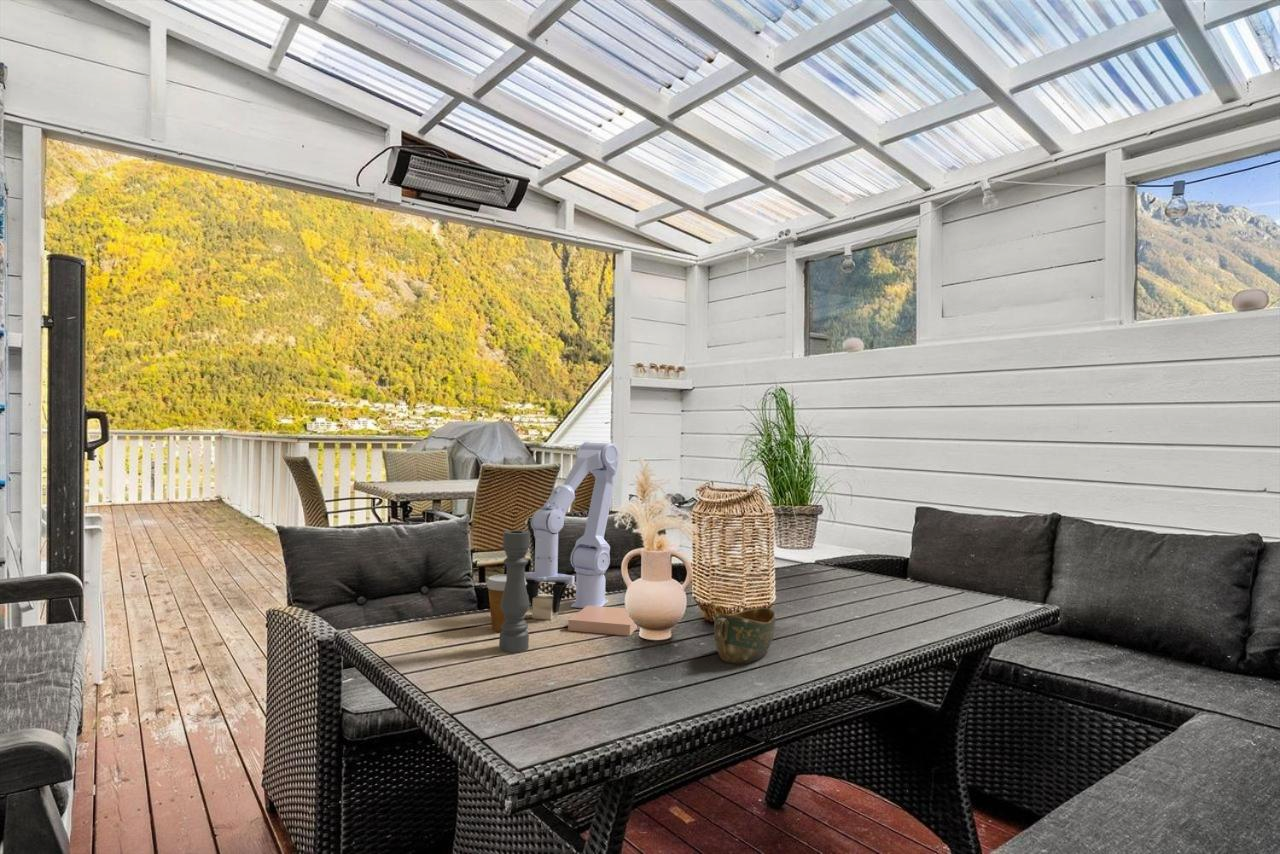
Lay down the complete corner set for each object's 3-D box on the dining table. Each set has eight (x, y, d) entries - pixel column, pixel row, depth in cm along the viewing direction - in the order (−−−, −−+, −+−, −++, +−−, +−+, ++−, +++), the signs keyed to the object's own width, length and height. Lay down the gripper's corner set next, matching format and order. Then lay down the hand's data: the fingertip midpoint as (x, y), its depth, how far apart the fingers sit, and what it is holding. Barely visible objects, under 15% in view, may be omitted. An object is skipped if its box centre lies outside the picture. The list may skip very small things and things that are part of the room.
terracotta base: (586, 615, 187) (587, 605, 187) (644, 619, 183) (644, 609, 183) (568, 630, 172) (568, 619, 172) (629, 635, 169) (630, 624, 169)
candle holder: (522, 653, 153) (525, 534, 154) (494, 651, 155) (497, 533, 155) (532, 645, 159) (535, 530, 160) (505, 643, 161) (508, 529, 161)
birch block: (539, 613, 187) (539, 593, 187) (557, 615, 186) (558, 595, 186) (532, 618, 182) (532, 598, 182) (551, 619, 181) (551, 599, 181)
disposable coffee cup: (522, 634, 168) (523, 582, 168) (480, 633, 168) (482, 581, 168) (529, 623, 177) (530, 574, 177) (490, 622, 177) (491, 573, 177)
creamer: (686, 651, 157) (688, 604, 157) (762, 642, 166) (764, 598, 166) (718, 670, 146) (720, 619, 146) (798, 659, 154) (800, 612, 154)
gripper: (513, 557, 182) (512, 612, 182) (568, 561, 179) (567, 617, 178) (524, 553, 189) (522, 605, 189) (577, 556, 185) (576, 610, 185)
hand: (545, 610), depth 184 cm, fingers closed on birch block, 5 cm apart
